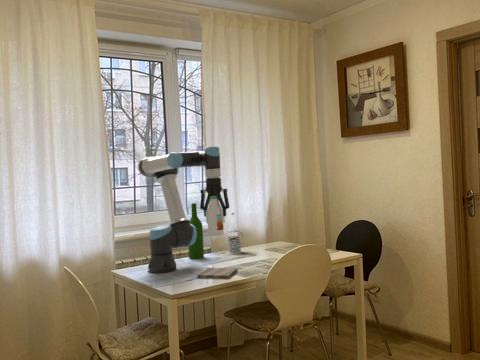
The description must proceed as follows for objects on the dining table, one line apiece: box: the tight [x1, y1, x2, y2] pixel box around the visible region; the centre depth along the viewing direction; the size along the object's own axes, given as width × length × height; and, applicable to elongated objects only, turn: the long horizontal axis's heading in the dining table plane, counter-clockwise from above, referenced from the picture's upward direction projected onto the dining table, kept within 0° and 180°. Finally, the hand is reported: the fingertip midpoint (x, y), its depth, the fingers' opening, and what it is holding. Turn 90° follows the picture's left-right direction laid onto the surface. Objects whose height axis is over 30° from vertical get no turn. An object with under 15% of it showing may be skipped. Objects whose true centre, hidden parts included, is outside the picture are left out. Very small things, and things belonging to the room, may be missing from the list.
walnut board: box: [196, 267, 238, 280], centre depth 245 cm, size 16×16×2 cm
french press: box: [226, 212, 245, 255], centre depth 302 cm, size 10×12×25 cm
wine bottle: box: [187, 203, 205, 260], centre depth 292 cm, size 9×9×32 cm
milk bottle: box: [207, 196, 224, 237], centre depth 244 cm, size 8×8×20 cm
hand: (215, 222), depth 244 cm, fingers closed on milk bottle, 7 cm apart
